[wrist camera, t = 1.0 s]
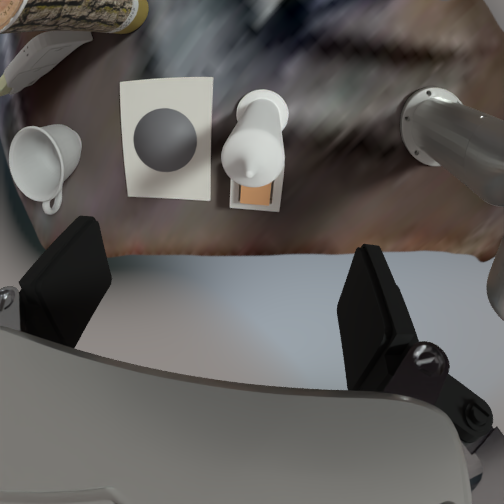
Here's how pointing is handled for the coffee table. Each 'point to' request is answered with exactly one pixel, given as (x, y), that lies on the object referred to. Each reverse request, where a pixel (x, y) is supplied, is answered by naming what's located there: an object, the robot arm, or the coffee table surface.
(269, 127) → the candle
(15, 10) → the wooden log
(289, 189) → the coffee table surface
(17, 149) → the teacup
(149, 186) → the paper sheet
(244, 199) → the button
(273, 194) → the button housing
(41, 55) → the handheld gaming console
